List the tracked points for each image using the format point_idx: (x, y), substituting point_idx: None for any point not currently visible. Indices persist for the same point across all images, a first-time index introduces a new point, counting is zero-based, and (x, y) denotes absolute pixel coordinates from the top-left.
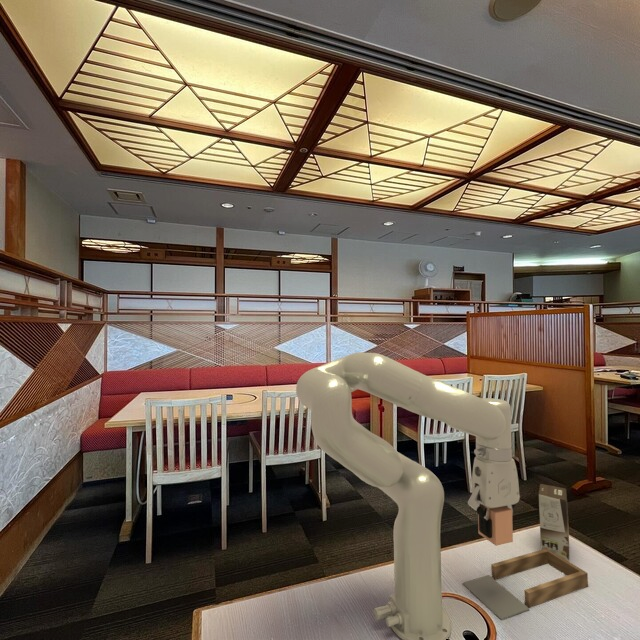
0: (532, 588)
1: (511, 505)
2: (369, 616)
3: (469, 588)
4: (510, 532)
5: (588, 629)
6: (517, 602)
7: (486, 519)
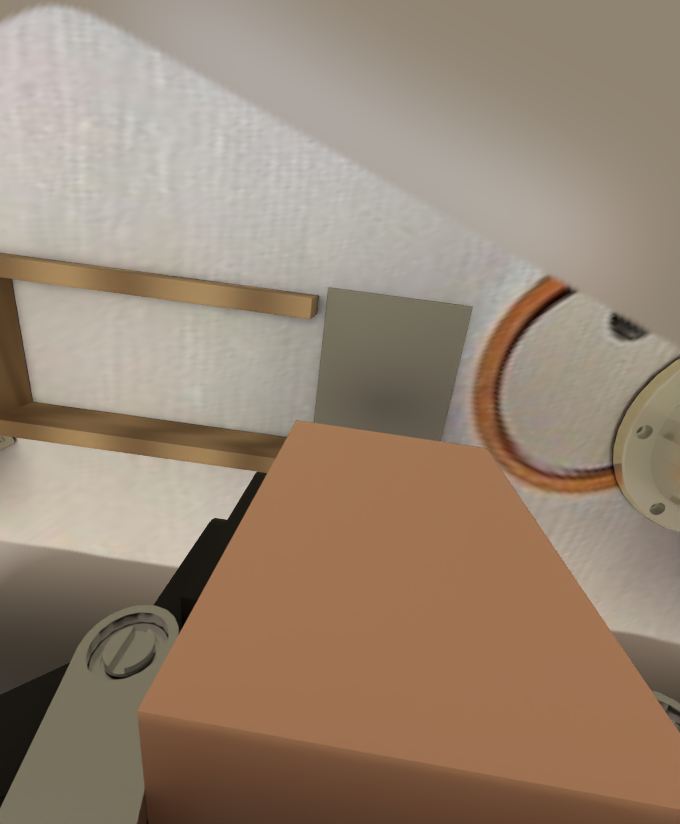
0: (268, 307)
1: (3, 803)
2: None
3: None
4: (307, 460)
5: (209, 111)
6: (341, 328)
7: (675, 707)
